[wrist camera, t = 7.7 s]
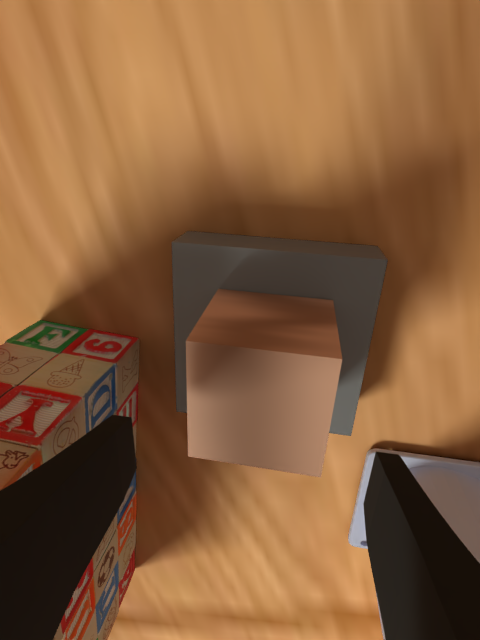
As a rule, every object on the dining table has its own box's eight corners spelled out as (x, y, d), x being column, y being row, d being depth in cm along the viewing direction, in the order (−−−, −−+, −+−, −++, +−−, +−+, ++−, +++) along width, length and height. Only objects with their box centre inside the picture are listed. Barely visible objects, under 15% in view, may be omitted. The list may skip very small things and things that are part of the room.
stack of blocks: (138, 568, 31) (43, 805, 20) (65, 551, 31) (-68, 771, 20) (140, 334, 22) (-34, 528, 11) (38, 315, 22) (-229, 480, 11)
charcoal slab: (375, 243, 18) (387, 259, 15) (345, 400, 22) (350, 435, 19) (190, 228, 19) (171, 242, 16) (191, 380, 23) (176, 411, 20)
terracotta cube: (333, 300, 16) (342, 359, 12) (317, 396, 18) (320, 477, 14) (218, 288, 17) (185, 340, 12) (216, 382, 19) (188, 456, 15)
